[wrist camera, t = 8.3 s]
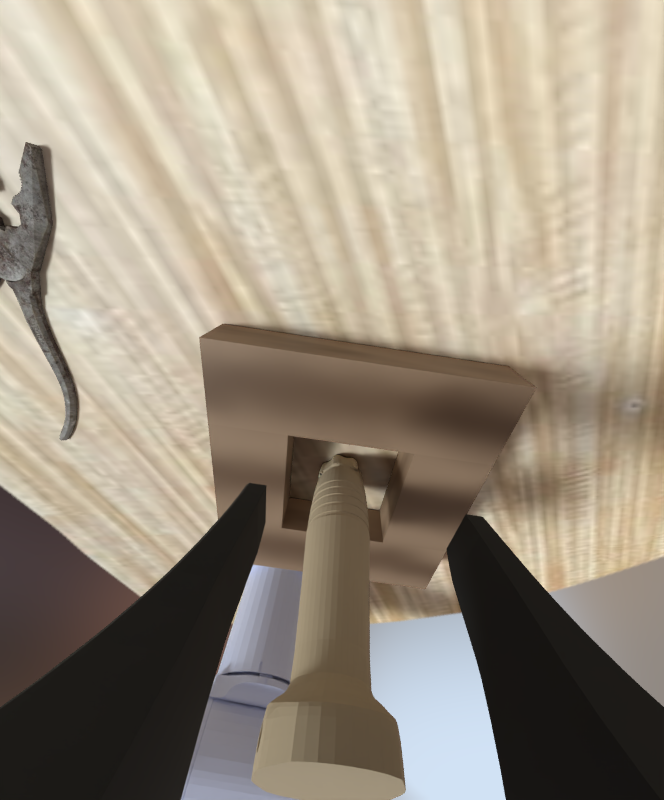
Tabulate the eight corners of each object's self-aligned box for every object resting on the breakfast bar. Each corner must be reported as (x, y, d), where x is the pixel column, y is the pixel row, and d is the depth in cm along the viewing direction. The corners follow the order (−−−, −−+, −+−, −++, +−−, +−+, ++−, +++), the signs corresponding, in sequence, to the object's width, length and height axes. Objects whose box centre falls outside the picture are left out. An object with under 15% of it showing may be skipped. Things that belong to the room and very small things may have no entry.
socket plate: (418, 556, 27) (425, 589, 24) (235, 529, 27) (222, 560, 24) (508, 366, 17) (536, 387, 15) (222, 323, 17) (199, 337, 15)
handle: (303, 489, 24) (244, 790, 11) (320, 429, 21) (265, 752, 7) (358, 501, 24) (366, 809, 11) (383, 444, 21) (436, 781, 8)
